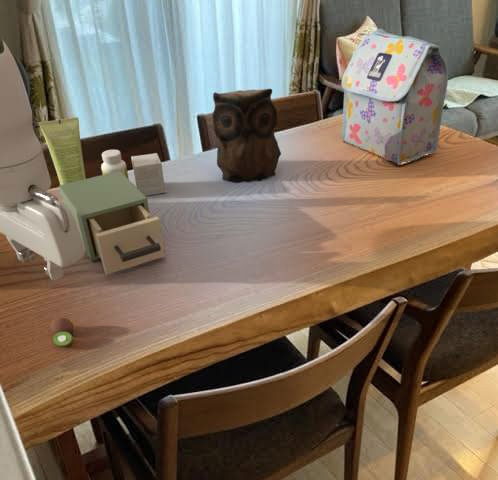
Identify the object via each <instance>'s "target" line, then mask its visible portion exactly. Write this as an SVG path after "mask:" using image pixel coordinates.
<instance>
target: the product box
mask: <svg viewBox="0 0 498 480" xmlns="http://www.w3.org/2000/svg"><path fill="white" fill-rule="evenodd" d="M130 158H131V164H132V170H133V176H134V182H135V186H136V188H137V189H138V190H139V191H140V192H141V193H142V194H143V195H144V196H145V197H148V196H153V195H159V194H165V193H166V185H165V179H164V171H163V165H162V161H161V159H160V157H159V154H158V153H157V152H154V153H148V154H141V155H131V157H130Z"/></svg>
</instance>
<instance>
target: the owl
mask: <svg viewBox="0 0 498 480" xmlns="http://www.w3.org/2000/svg"><path fill="white" fill-rule="evenodd" d="M272 94H273V89H272V88H264V89H247V90H235V91H228V92H221V93H219V92H216V91H214V92H213V93H212V99H213V103H214V110H213V112H212V123H213V127H212V129H213V131H214V132H213V133H214V134H215V137H216V139H217V143H218V145H217V151H216V165H217V167H218V168H219V169H220V171H221V173H222V177H221V179H222V181H224V182H225V181H226V182H229V183H235V184H240V183H243V182H246V183H251V182H255V181H256V182H261V181H263V180H267V179H269V178H270V177H272V176H275V175H276V169H277V166H278V163H279V159H280V156H281V155H282V152H281V149H280V146H279V143H278V140H277V139H276V136H275V132H274V130H275V129H276V127H277V125H278V119H279V118H278V117H279V116H278V112H277V108H276V107H275V105H274V103H273V100H272V97H271V96H272Z"/></svg>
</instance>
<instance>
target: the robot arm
mask: <svg viewBox="0 0 498 480" xmlns="http://www.w3.org/2000/svg"><path fill="white" fill-rule="evenodd" d="M29 80H30V79H29V76H28V73H27V71H26V68H25V67H24V65H23V63H22V62H21V61H20V59H19V58H18V57H17V55H16V54H15V53H14V52H13V51H12V50H11V49H10V48H9V47H8V45H7V44H6V42H5V41H4V40H3V39H2V38H1V37H0V233H1V234H2V235H4V236H5V237H6V239H7V241H8V242H9V244H10V246H11V247H12V248H13V250H14V251H15V253H16V256H17V259H18V260H19V261H20V262H22V263H24V264H25V265H26V264H29V263H30V262H33V261H35V259H36V256H35V254H37V255H39V256H41V257H42V258H43V260H44V261H45V262H46V266H44V267H43V268H44V272H45V275H46V277H47V278H49V279H50V280H52V281H53V282H56V281H58V280H59V279H62V278H63V277H64V271H63V269H64V268H67V267H69V266H72V265H73V264H75V263H77V262H79V261H80V260H82V259H83V258H84V256H85V254H86V252H85V248H84V245H83V241H82V238H81V235H80V232H79V230H78V227H77V224H76V221H75V219H74V217H73V214H72V213H71V211H70V209H69V208H68V207H67V206H66V205H65V204H64V203H63V201H60V200H59V198H58V197H57V196H56V195H55V194H53V193H50V192H48V191H49V190H50V188H51V186H52V180H51V177H50V172H49V169H48V166H47V162H46V159H45V155H44V151H43V147H42V144H41V142H40V140H39V139H38V137H37V135H36V134H35V130H34V127H33V110H32V107H31V103H30V98H31V97H30V96H31V86H30V81H29ZM34 253H35V254H34Z"/></svg>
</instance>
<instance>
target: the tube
mask: <svg viewBox="0 0 498 480" xmlns="http://www.w3.org/2000/svg"><path fill="white" fill-rule="evenodd" d="M38 125H39V128H40V130H41V132H42V134H43V137H44V139H45V142H46V145H47V147H48V150H49V154H50V157H51V160H52V162H53V166H54V168H55V171H56V174H57V178H58V182H59V185H63V184H67V183H71V182H76V181H80V180H84V179H87V178H86V172H85V166H84V165H85V164H84V159H83V158H84V157H83V152H82V143H81V133H80V119H79V117H78V116H75V117H69V118H63V119H61V118H60V119H55V120H48V121H40V122H38Z"/></svg>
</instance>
